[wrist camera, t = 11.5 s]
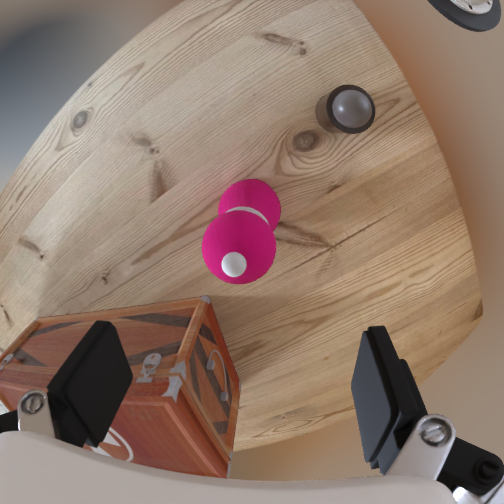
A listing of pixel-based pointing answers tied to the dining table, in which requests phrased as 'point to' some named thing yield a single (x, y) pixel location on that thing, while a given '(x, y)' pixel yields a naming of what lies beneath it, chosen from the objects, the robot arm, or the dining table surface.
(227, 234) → the pepper mill
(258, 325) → the dining table surface
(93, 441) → the robot arm
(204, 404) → the wooden box
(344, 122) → the salt shaker
